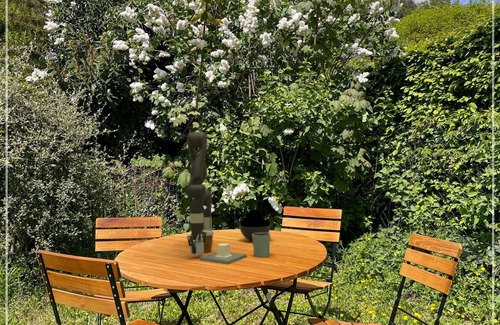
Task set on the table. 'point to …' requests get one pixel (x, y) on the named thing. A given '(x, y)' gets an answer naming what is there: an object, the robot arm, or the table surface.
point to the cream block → (223, 250)
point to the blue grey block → (199, 248)
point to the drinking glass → (261, 244)
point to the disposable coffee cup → (208, 241)
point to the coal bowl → (253, 225)
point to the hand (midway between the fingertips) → (197, 252)
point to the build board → (223, 258)
